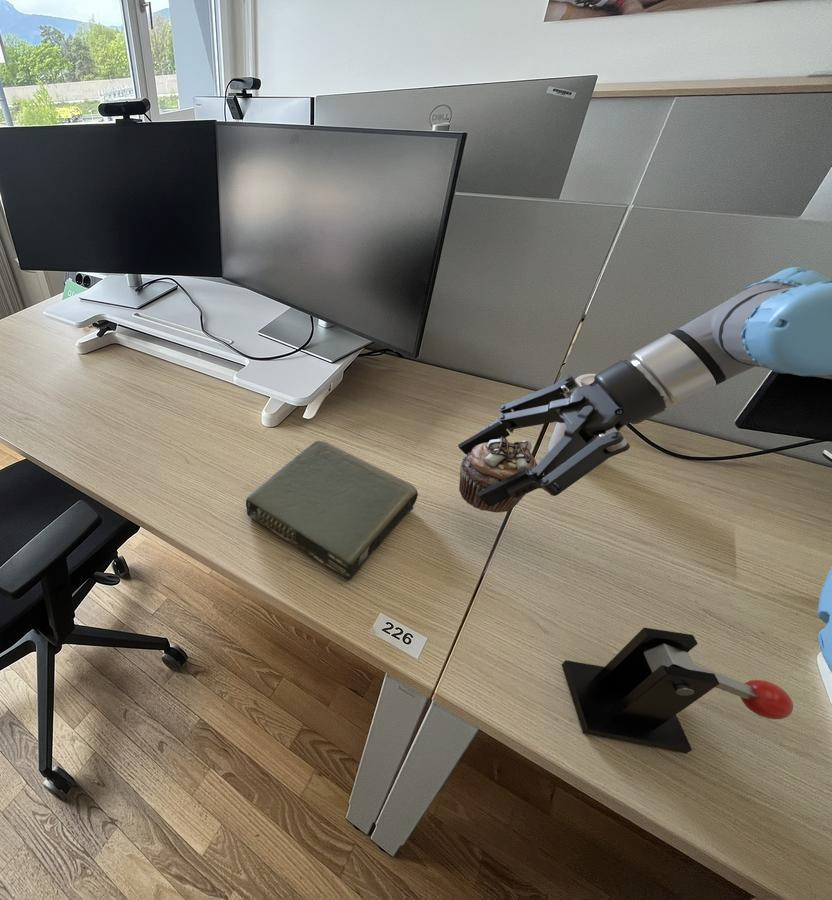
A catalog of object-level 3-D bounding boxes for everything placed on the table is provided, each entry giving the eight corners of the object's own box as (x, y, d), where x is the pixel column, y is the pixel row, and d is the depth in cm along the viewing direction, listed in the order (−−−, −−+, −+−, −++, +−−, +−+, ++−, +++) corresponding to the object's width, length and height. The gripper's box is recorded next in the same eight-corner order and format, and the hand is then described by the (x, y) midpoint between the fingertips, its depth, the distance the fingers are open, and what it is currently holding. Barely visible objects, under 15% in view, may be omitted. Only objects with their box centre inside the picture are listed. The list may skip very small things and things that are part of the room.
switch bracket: (653, 680, 56) (717, 625, 48) (686, 754, 50) (766, 706, 42) (561, 664, 58) (607, 609, 50) (582, 733, 52) (639, 684, 44)
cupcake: (515, 475, 72) (538, 424, 65) (530, 522, 65) (557, 470, 58) (449, 468, 74) (465, 418, 68) (456, 513, 67) (475, 461, 60)
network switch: (236, 526, 79) (234, 506, 76) (305, 451, 93) (305, 431, 90) (363, 594, 68) (367, 573, 64) (420, 497, 81) (426, 476, 78)
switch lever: (752, 693, 50) (788, 681, 48) (773, 728, 47) (813, 718, 45) (634, 647, 50) (665, 634, 47) (649, 681, 47) (683, 668, 45)
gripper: (724, 460, 48) (512, 548, 60) (614, 356, 65) (466, 440, 77) (696, 418, 45) (480, 519, 57) (589, 321, 62) (440, 414, 74)
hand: (472, 474), depth 67 cm, fingers closed on cupcake, 10 cm apart
